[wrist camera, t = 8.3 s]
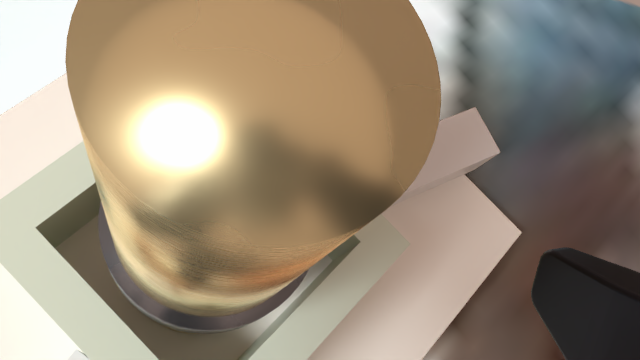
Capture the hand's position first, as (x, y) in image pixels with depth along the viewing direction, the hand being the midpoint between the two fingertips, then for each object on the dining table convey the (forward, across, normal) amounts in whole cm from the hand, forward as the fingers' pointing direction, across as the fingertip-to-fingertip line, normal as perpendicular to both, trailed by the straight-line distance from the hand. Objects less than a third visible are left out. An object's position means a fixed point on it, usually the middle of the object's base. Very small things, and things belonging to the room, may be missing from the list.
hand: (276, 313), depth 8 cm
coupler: (+10, 0, +6) cm, 12 cm away
